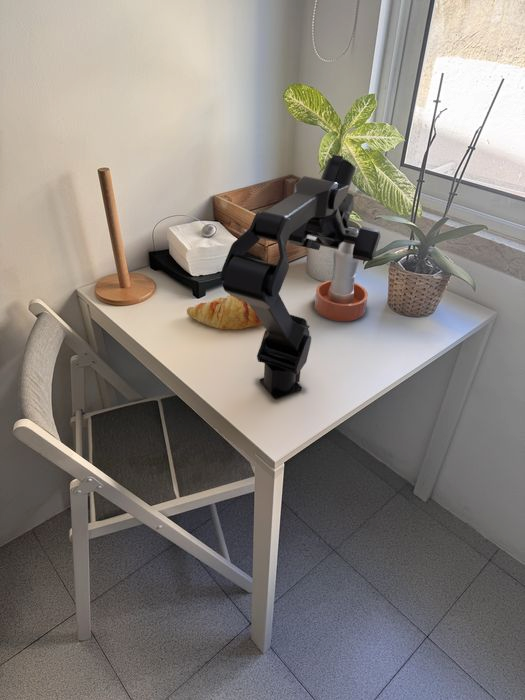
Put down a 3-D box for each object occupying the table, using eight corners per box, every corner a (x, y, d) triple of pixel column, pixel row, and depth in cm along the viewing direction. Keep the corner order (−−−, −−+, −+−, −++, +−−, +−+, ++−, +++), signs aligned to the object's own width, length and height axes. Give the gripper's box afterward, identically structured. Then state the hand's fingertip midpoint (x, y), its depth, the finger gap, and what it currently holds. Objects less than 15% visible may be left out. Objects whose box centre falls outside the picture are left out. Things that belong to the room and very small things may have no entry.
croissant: (186, 336, 122) (181, 320, 115) (190, 300, 126) (186, 282, 119) (274, 339, 121) (275, 323, 114) (276, 303, 125) (276, 285, 118)
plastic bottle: (344, 296, 131) (355, 222, 119) (357, 309, 126) (370, 234, 114) (321, 300, 129) (330, 225, 117) (334, 314, 124) (345, 237, 112)
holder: (334, 326, 121) (336, 310, 119) (304, 301, 130) (306, 286, 127) (375, 313, 127) (378, 298, 124) (344, 290, 135) (346, 275, 133)
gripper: (386, 191, 96) (390, 227, 111) (295, 175, 103) (311, 211, 117) (368, 245, 95) (374, 274, 110) (277, 225, 101) (295, 255, 116)
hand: (338, 252), depth 113 cm, fingers open, 9 cm apart
